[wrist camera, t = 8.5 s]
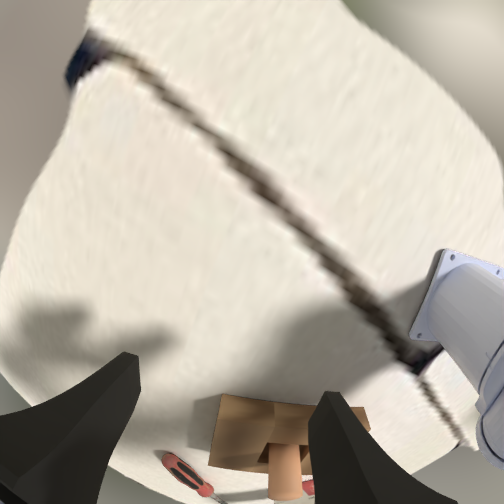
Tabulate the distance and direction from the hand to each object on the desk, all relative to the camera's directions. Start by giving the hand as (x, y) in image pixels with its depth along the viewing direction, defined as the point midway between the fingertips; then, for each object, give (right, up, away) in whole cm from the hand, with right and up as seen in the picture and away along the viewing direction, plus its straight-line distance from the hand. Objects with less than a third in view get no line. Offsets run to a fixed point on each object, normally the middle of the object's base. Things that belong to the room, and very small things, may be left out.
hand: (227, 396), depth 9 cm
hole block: (+4, -13, +14) cm, 20 cm away
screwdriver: (-6, -30, +21) cm, 37 cm away
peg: (+4, -13, +14) cm, 20 cm away
